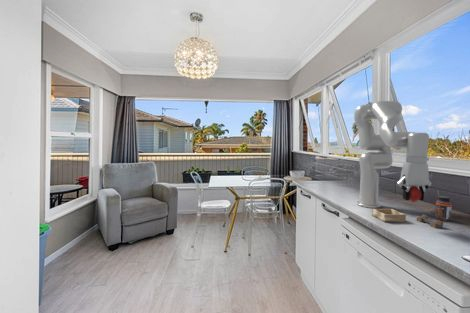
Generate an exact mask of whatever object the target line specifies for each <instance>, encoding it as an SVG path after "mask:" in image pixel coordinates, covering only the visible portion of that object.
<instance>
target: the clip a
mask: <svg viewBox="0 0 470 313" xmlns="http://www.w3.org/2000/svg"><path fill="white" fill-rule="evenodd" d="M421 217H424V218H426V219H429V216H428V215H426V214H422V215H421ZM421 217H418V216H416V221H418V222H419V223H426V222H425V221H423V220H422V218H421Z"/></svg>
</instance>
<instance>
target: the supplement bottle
mask: <svg viewBox="0 0 470 313" xmlns="http://www.w3.org/2000/svg"><path fill="white" fill-rule="evenodd" d="M452 206H453V204H452V202H451V201H450V197H449V196H446V195H439V196H438V199H437V200H436V201H435V210H434V211H435V212H434V217H435V220H439V221H442V222H450V221H451V220H452Z"/></svg>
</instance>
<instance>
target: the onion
mask: <svg viewBox="0 0 470 313" xmlns="http://www.w3.org/2000/svg"><path fill="white" fill-rule="evenodd" d="M408 192H410V199H409V201H411V202H412V203H416V202H417V201H420V200H419V199H420V198H421V196H422V193H421V191H420V189H418V186H411V187H410V189H409V191H408Z"/></svg>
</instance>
